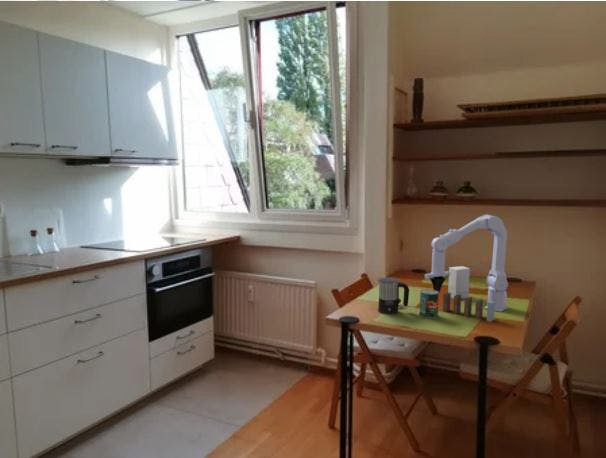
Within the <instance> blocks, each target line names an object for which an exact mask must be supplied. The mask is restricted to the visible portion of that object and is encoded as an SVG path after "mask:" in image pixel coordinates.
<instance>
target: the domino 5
mask: <svg viewBox="0 0 606 458" xmlns="http://www.w3.org/2000/svg"><path fill="white" fill-rule="evenodd" d="M487 302H488V301H487ZM486 306H487V305H486ZM494 320H495V302H494V301H490V302H488V306H487V310H486V322H489V323H490V322H493V321H494Z"/></svg>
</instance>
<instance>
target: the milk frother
mask: <svg viewBox="0 0 606 458" xmlns="http://www.w3.org/2000/svg"><path fill="white" fill-rule="evenodd" d="M377 281H378V307H377V308H378V309H377V311H378V313H382V314H387V315H393V314H397V313H399V308H400V305H399V304H400V303H401V302H403V303H402V305H403V307H408V305H409V297H410V296H409V295H410V288H409V285H408V284H406V283H405V282H402V281H400V280H399V279H398V278H397V277H396V278H395V277H380V278H378V280H377ZM400 288H403V301H402V300H401V298H400V297H399V296H400V290H399V289H400Z"/></svg>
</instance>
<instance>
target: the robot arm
mask: <svg viewBox="0 0 606 458" xmlns="http://www.w3.org/2000/svg"><path fill="white" fill-rule="evenodd" d="M478 229H480V230H482V229H483V230H485V229H486V230H488V231H490V233H491V234H492V235H493V246H492V249H493V250H492V261H491V269H489V272H488V275H487V277H486V283H487V285H488V290H487V304H486V306H483V309H487V306H488V302H490V301H494V302H495V310H494V312H495V311H496V312H503V311H504V310H507V309H508V308H509V306H508V305H507V303H508V301H507V299H508V293H507V291H506V290H507V288H508V286H509V282H508V280H507V274H506V271H505V263H506V252H507V242H508V241H507V240H508V231H507V228H506V227H505V225H504V220H502V219H501V218H500V217H499V216H497V215H491V214H487V213H486V214H483V215H481V216H478V217H477V218H476V219H474V220H472V221H471V222H469V223H467V224H466V225H463V226H462V227H460V228H459V229H455V228H454V229H451V228H450V229H449V230H448V232H446V233H444V234H439V237H434V238H433V239H432V241H431V242H430V246H431V248H432V255H431V271H430V272H428V273H425V274H424V279H425V280H430V281H431V283H432V287H433V290H436V291H438V292H439V294H441V293H440V292H441V290H442V287H443V284H444V283H445V281H446V277H449V276H450V272H449V270H445V268H446V267H445V266H446V264H445V263H446V250H447V249H448V248H449V247H450V246H452V245H454V244H455V243H457V242H459V241H461V240H462V238H463V236H465V235H467V234H469V233H471V232H473V231H475V230H478Z"/></svg>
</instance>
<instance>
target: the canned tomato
mask: <svg viewBox="0 0 606 458" xmlns="http://www.w3.org/2000/svg"><path fill="white" fill-rule="evenodd" d="M439 294H440V293H439V292H438V291H436V290H434V289H427V288H426V289H421V290H420V291H419V313H418V314H419V317H421V318H425V319H436V318H439V317H438V316H439V315H438V314H439Z"/></svg>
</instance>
